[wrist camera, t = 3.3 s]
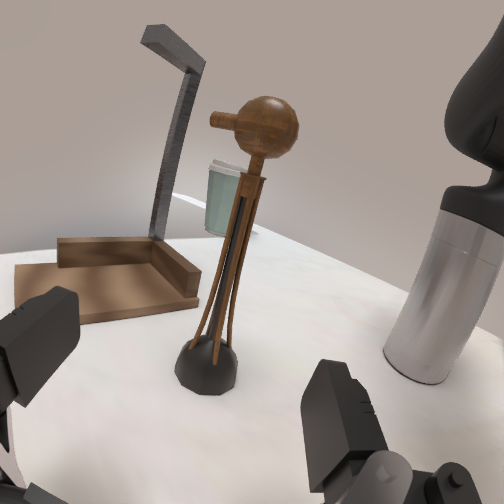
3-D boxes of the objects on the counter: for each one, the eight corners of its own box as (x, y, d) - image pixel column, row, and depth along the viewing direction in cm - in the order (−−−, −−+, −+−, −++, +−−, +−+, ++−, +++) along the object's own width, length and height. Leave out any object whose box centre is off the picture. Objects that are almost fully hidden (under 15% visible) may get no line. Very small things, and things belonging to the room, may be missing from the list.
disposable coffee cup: (237, 229, 68) (252, 166, 64) (250, 244, 59) (269, 171, 55) (192, 222, 65) (207, 156, 60) (198, 236, 55) (216, 158, 51)
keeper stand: (154, 264, 38) (199, 63, 30) (197, 307, 31) (260, 50, 23) (15, 272, 24) (53, 26, 17) (17, 331, 17) (67, -17, 9)
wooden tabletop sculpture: (152, 367, 20) (205, 79, 14) (184, 342, 24) (237, 99, 18) (219, 405, 18) (306, 92, 13) (244, 371, 23) (319, 115, 17)
